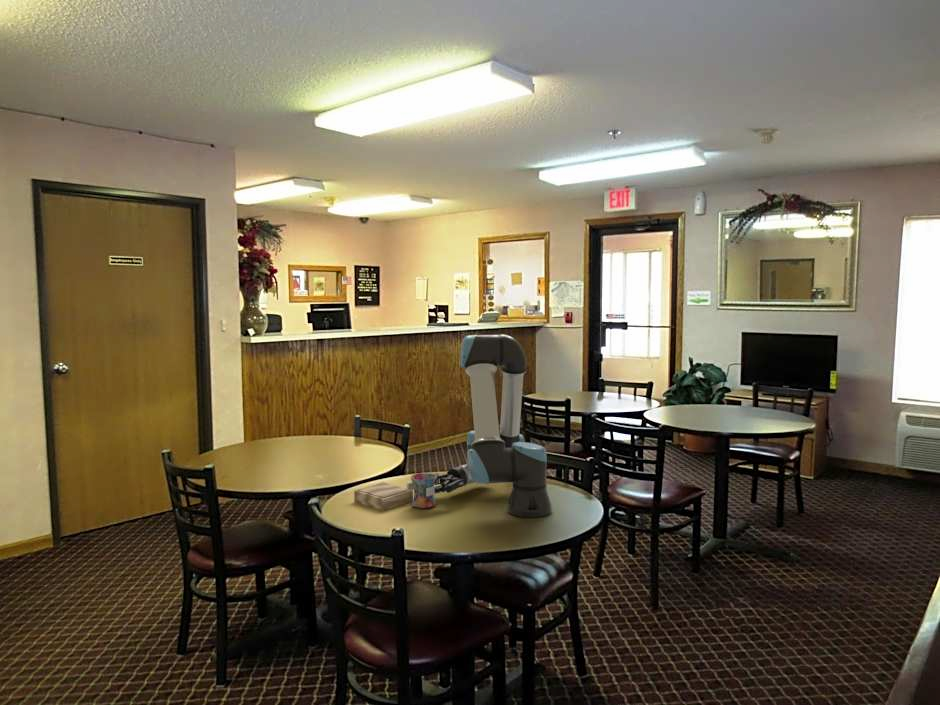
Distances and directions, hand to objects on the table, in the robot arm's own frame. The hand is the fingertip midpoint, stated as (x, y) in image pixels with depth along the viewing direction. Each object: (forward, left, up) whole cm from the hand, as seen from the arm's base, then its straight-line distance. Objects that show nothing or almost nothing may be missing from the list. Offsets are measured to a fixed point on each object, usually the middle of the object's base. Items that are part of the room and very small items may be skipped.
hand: (417, 489), depth 226 cm
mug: (0, -5, -7) cm, 8 cm away
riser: (+15, +2, -7) cm, 17 cm away
